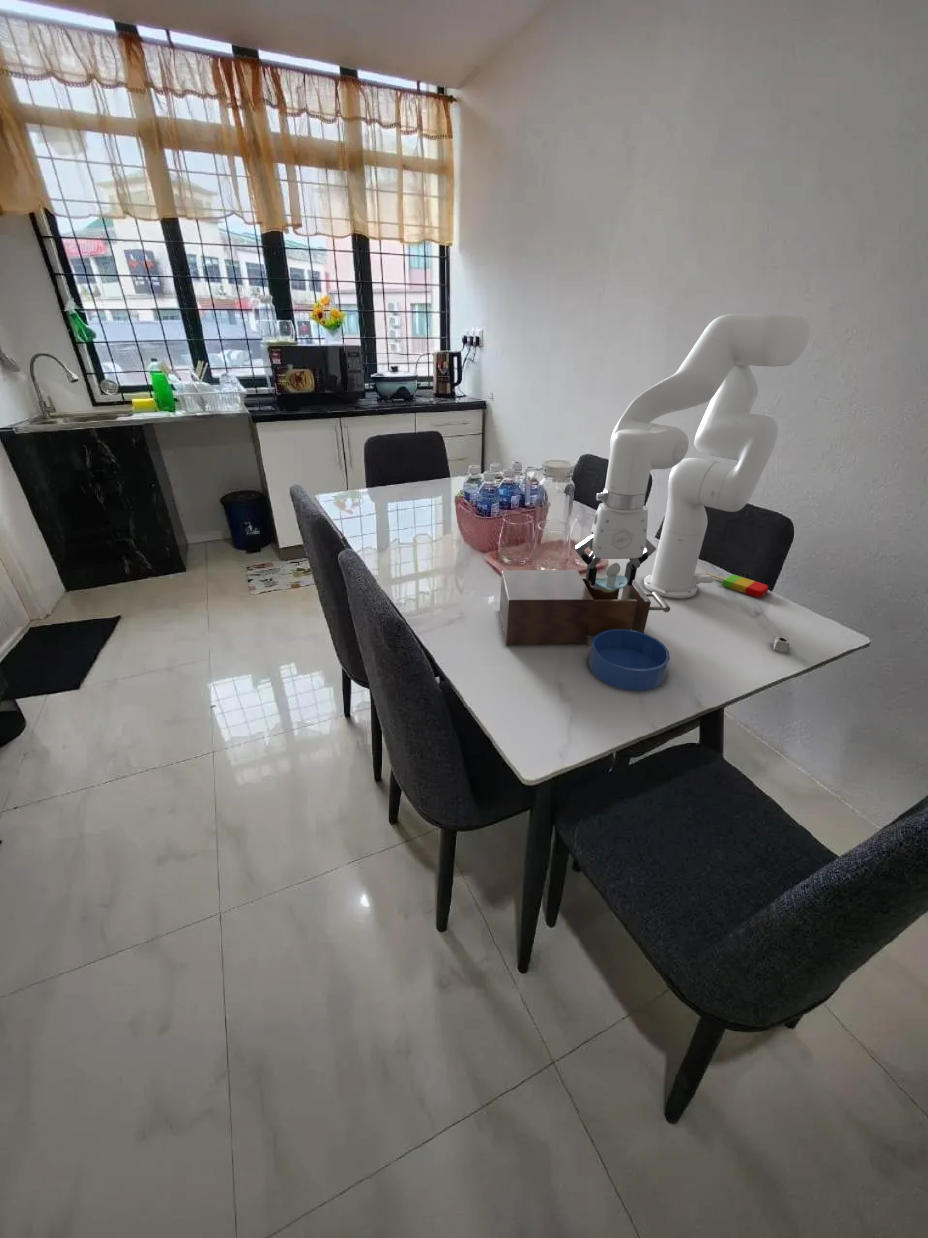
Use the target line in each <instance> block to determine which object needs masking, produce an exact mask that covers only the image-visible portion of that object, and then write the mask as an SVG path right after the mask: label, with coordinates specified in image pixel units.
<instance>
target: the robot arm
mask: <svg viewBox="0 0 928 1238" xmlns="http://www.w3.org/2000/svg"><path fill="white" fill-rule="evenodd" d="M810 330H811V329H810V325H809V322H808V320H807V319H806V318H805V317H803V316H796V315H784V314H774V313H729V314H723V315H720V316H718V317H716V318H714V319H713V320H712V321H711V322H709V323H708V325H707V326H706V327H705V328H704V331H703V332H702V333H701V334H700V336H699V338H698V339H697V341H696V342H695V344H694V345H693V347H692V348H691V350H690V351H689V353H688V354H687V355H686V357H685V359H684V360H683V362H682V363H681V365H680V366H679V368H678V369H677V371H676V372H675V373H674V374H672V375H670V376H668V377H665V379H662V380H660V381H659V382H658V383H656V384H654V385H652V386H651V387H650V388H648V389H646V390H645V391H643V392H642V393H640V394H639V395H637V396H636V397H635V398H634V399H633V400H632V401H631V402H630V404H629V405H628V406H627V408H626V409H625V411H624V412H623V414H621V415H622V416H621V417H620V418H619V420H618V421H617V423H616V425H615V426H614V428H613V431H612V433H611V437H610V440H609V449H610V452H609V458H608V465H607V472H606V478H605V485H604V488H603V490H602V492H599V493H598V492H597V493H596V495H595V500H596V501H600V502H601V503H599V504H598V507H597V509H596V512H595V515H594V518H593V522H592V526H591V530H590V534H589V536H587V537H586V538H585V539H583V540H582V541H580V542H579V543H578V544H576V545H575V546H574V550H575V551H576V553H577V554H578V556H579V557H580V558H581V560H582V561H583V562H584V563H585V564H586V566H587V567H586V573H585V577H586V580H587V581H588V582H589V584H590V585H591V586H595V581H596V577H597V574H598V568H597V565H598V563H599V562H600V561H601V560H629V561H627V562H626V565H625V570H624V575H623V576H625V577H626V578H627V580H628V582H627V585H629V586H632V582H633V580H635V581H636V575H637V570H638V569H639V568H640V567H641V565H642V564H643V563H645V561H647V560H648V559H649V557H650V556H652V554H654V553H655V552H656V554H655V559H654V564H653V567H652V572H651V573H650V574H648V575H646V576H645V577H644V579H643V586H644V587H645V588H646V589H647V590H648V591H650V593H653V592H654V591H657V592H658V593H659V594H660V596H661V597H664V598H671V599H688V598H691V597H693V596H695V595H696V594H697V592H698V585H699V584H701V583H703V584H711V583H712V582H713V580H714V579H713V578H714V577H713V576H711V575H707V574H704V575H703V572H702V571H696V570H697V569H696V568H697V565H698V562H699V557H700V554H701V550H702V547H703V542H704V540H705V535H706V532H707V528H708V515H707V511H706V508H705V507H707V508H711V509H714V510H719V511H724V512H727V513H729V512H730V513H734V512H739V511H741V510H742V509H743V508H745V506H746V505H747V504H748V503H749V501H750V499H751V497H752V495H753V493H754V492H755V489H756V486H757V484H758V482H759V480H760V479H761V476H762V474H763V472H764V470H765V468H766V466H767V464H768V462H769V459H770V457H771V455H772V454H773V451H774V448H775V446H776V443H777V439H778V435H779V426H778V423H777V421H776V420H775V419H774V418H773V417H771V416H768V415H764V414H758V413H751V410H752V408H753V406H754V403H755V401H756V399H757V396H758V392H759V390H758V389H759V388H758V384H757V381H756V378H755V375H754V373H753V371H752V369H751V366H752V367H769V368H770V367H771V368H775V367H786V366H789V365H791V364H793V363H794V362H795V363H796V361H797V360H799V358H800V357H801V356H802V355H803V353H804V351H805V349H806V347H807V345H808V343H809V339H810V335H811V334H810ZM708 402H709V404H708V406H707V407H706V409H705V412H704V414H703V417H702V419H701V421H700V423H699V426H698V428H697V430H696V433H695V436H694V441H693V445H694V447H695V450H696V451H698V452H699V453H701V454H704V455H708V456H710V457H715V458H722V459H727V460H733V461H736V462H737V464H731V463H725V462H720V461H717V460H710V459H706V458H700V457H686V455H687V453H688V451H689V445H690V442H689V437H688V435H687V434H686V433H687V432H685V431H684V430H682V429H681V428H679V427H675V426H672V425H665V424H659V423H652V422H653V421H654V420H656V419H658V418H660V417H662V416H664V415H667V414H668V415H669V414H671V413H675V412H679V411H684V410H687V409H690V408H694V407H698V406H700V405H701V406H702V405H704V404H706V403H708ZM667 469H668V470H669V469H671V470H670V472H669V476H668V482H667V502H666V510H665V515H664V519H663V524H662V529H661V532H660V537H659V542H658V546H657V547H656V545H654V544H653V543H652V542H651V541H650V540H649V539H648V538H647V535H648V521H649V520H648V519H649V512H648V511H649V510H648V507H647V506H645V501H646V495H647V491H648V485H649V480H650V475H651V471H652V470H667ZM587 548H588V549H589V550H590V551H591V552H590V553H589V555H588V553H586V550H587Z"/></svg>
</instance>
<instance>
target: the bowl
mask: <svg viewBox="0 0 928 1238" xmlns="http://www.w3.org/2000/svg"><path fill="white" fill-rule="evenodd" d="M590 646H591V647H590V652H589V659H588V666H589V670H590V671H591V673H592V674H593V675H594V676H595V677H596V678H597V679H598V680H600V681H602V682H603V683H605V684H607V685H609V686H612V687H614V688H616V689H619V690H620V689H621V690H625V691H632V692H634V691H636V692H640V691H641V692H642V691H649V690H653V689H654V688H656V687H658V686H660V685H661V684H662V683H663V681H664V679H665V677H666V673H667V670H668V666H669V663H670V660H671V657H670V651H669V650H668V648H667V646H666V645H665V644H664V643H663V642H661V641H660V640H659V639H658V638H656V637H653V636H651V635H650V634H648V633H645V632H644V633H641V632H638V631H634V630H627V629H612V630H607V631H603V632H601V633H599V634H597V635H596V636H593V639H592V641H591V645H590Z"/></svg>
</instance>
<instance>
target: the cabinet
mask: <svg viewBox="0 0 928 1238" xmlns="http://www.w3.org/2000/svg"><path fill="white" fill-rule="evenodd" d="M581 577H582V576H581V574H580V572H579V570H578V569H563V570H562V569H553V570H552V569H544V570H543V569H538V570H537V569H535V570H534V569H533V570H532V569H531V570H528V569H527V570H525V569H523V570H521V569H520V570H517V569H516V570H515V569H514V570H513V569H512V570H511V569H510V570H507V569H506V570H504V569H503V570H501V580H500V582H501V583H500V598H499V600H500V601H499V616H500V621H501V626H502V632H503V638H504V642H505V646H578V645H579V646H586V645H587V641H588V636H587V635H588V629H589V623H590V617H591V611H592V605H593V598H592V596H591V594H590V592H589V591H588V589H587V587H586V585H585V583H584V581H583V580H582V578H581Z"/></svg>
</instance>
